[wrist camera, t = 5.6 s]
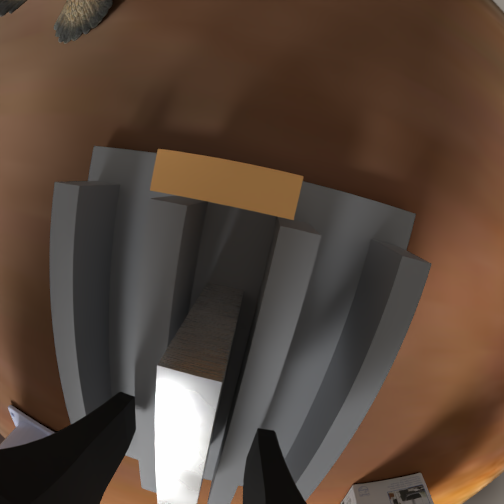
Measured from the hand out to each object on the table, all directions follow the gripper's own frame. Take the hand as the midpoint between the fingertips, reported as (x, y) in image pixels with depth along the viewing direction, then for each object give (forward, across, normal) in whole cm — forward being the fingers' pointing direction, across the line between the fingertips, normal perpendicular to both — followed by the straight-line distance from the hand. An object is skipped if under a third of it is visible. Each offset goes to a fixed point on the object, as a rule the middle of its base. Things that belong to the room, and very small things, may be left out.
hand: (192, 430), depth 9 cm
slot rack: (+5, 0, 0) cm, 5 cm away
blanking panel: (+4, 0, 0) cm, 4 cm away
